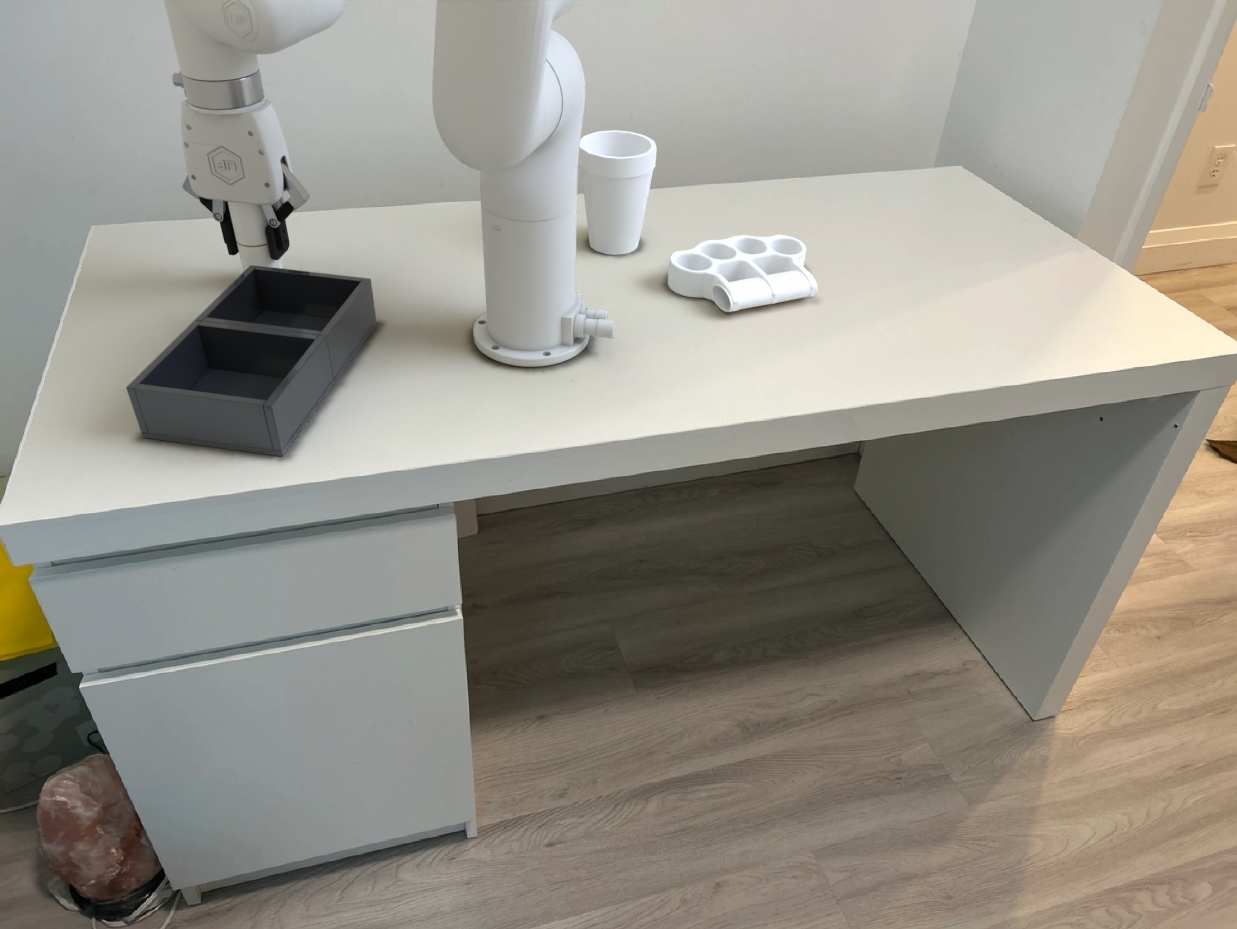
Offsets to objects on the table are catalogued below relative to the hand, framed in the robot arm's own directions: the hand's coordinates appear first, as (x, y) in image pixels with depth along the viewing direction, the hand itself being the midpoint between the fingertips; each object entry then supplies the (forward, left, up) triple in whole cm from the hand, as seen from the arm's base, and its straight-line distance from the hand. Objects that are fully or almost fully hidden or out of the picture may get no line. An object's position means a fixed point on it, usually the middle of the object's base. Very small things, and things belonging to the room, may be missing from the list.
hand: (258, 250), depth 110 cm
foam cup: (-38, -20, -4) cm, 43 cm away
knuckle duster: (-55, -13, -4) cm, 57 cm away
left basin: (-9, +24, -4) cm, 26 cm away
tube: (0, 0, -4) cm, 4 cm away
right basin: (-9, +12, -4) cm, 16 cm away
